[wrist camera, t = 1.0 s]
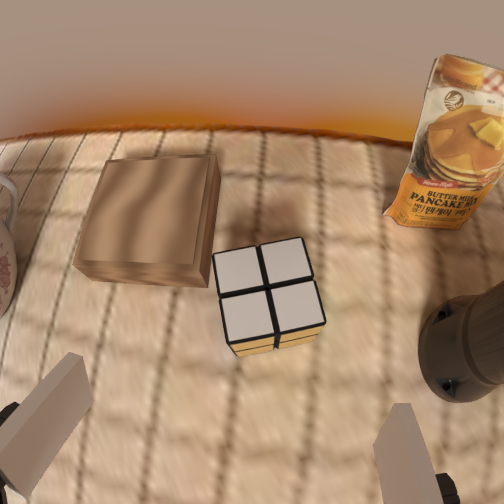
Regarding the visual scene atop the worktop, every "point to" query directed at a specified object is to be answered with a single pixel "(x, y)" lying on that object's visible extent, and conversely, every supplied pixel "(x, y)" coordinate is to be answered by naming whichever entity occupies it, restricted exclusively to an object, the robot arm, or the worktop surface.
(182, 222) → the block
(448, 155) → the pancake mix bag
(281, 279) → the puzzle cube
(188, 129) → the worktop surface
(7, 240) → the chamber pot
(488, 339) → the robot arm
